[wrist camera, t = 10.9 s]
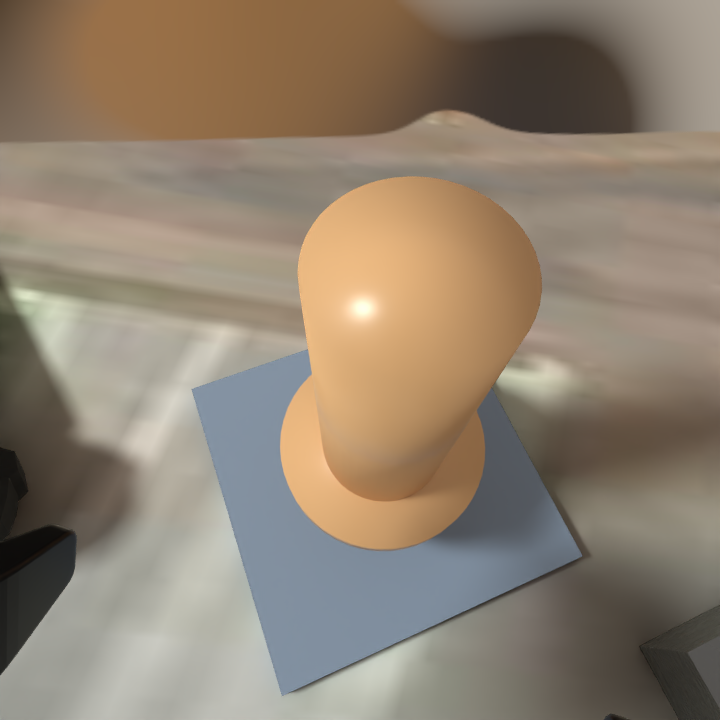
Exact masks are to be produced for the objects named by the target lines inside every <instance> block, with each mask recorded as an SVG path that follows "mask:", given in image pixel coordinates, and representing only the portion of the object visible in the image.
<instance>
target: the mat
mask: <svg viewBox="0 0 720 720" xmlns="http://www.w3.org/2000/svg"><path fill="white" fill-rule="evenodd" d="M311 375H312V371H311V365H310V358H309V351H308V349H307V350H304V351H301V352H299V353H296V354H293V355H290V356H287V357H284V358H281V359H278V360H275V361H272V362H269V363H266V364H264V365H261V366H258V367H255V368H252V369H249V370H246V371H243V372H240V373H237V374H234V375H231V376H229V377H226V378H223V379H220V380H217V381H214V382H211V383H208V384H205V385H202V386H199V387H196V388H194V389H192V392H193V395H194V399H195V402H196V406H197V409H198V412H199V416H200V419H201V423H202V426H203V429H204V433H205V436H206V440H207V443H208V446H209V450H210V453H211V457H212V460H213V463H214V467H215V470H216V473H217V477H218V480H219V484H220V487H221V490H222V494H223V497H224V501H225V504H226V507H227V511H228V514H229V518H230V521H231V524H232V528H233V531H234V535H235V538H236V541H237V545H238V548H239V552H240V555H241V558H242V562H243V565H244V568H245V572H246V575H247V579H248V582H249V585H250V589H251V592H252V596H253V599H254V602H255V606H256V609H257V613H258V616H259V619H260V623H261V626H262V630H263V633H264V636H265V640H266V643H267V646H268V650H269V653H270V657H271V660H272V663H273V667H274V670H275V674H276V677H277V680H278V684H279V687H280V691H281V694H282V696H283V695H285V694H287V693H289V692H292V691H294V690H296V689H298V688H300V687H302V686H305V685H307V684H309V683H311V682H313V681H315V680H317V679H320V678H322V677H324V676H326V675H328V674H330V673H333V672H335V671H337V670H339V669H341V668H343V667H345V666H348V665H350V664H352V663H354V662H356V661H358V660H360V659H363V658H365V657H367V656H369V655H371V654H373V653H376V652H378V651H380V650H382V649H384V648H386V647H388V646H391V645H393V644H395V643H397V642H399V641H401V640H404V639H406V638H408V637H410V636H412V635H414V634H416V633H419V632H421V631H423V630H425V629H427V628H429V627H431V626H434V625H436V624H438V623H440V622H442V621H444V620H447V619H449V618H451V617H453V616H455V615H457V614H459V613H462V612H464V611H466V610H468V609H470V608H472V607H475V606H477V605H479V604H481V603H483V602H485V601H487V600H490V599H492V598H494V597H496V596H498V595H500V594H503V593H505V592H507V591H509V590H511V589H513V588H515V587H518V586H520V585H522V584H524V583H526V582H528V581H530V580H533V579H535V578H537V577H539V576H541V575H543V574H546V573H548V572H550V571H552V570H554V569H556V568H558V567H561V566H563V565H565V564H567V563H569V562H571V561H574V560H576V559H578V558H580V557H582V554H581V552H580V550H579V549H578V547H577V545H576V543H575V541H574V539H573V537H572V536H571V534H570V532H569V530H568V528H567V526H566V525H565V523H564V521H563V519H562V517H561V515H560V513H559V512H558V510H557V508H556V506H555V504H554V502H553V500H552V499H551V497H550V495H549V493H548V491H547V489H546V487H545V486H544V484H543V482H542V480H541V478H540V476H539V474H538V473H537V471H536V469H535V467H534V465H533V463H532V461H531V460H530V458H529V456H528V454H527V452H526V450H525V448H524V447H523V445H522V443H521V441H520V439H519V437H518V435H517V434H516V432H515V430H514V428H513V426H512V424H511V422H510V421H509V419H508V417H507V415H506V413H505V411H504V409H503V408H502V406H501V404H500V402H499V400H498V398H497V396H496V395H495V393H494V391H493V389H492V388H491V389H490V391H489V392H488V394H487V395H486V397H485V398H484V400H483V401H482V403H481V404H480V406H479V408H478V409H477V413H478V416H479V418H480V421H481V424H482V429H483V433H484V441H485V462H484V468H483V473H482V477H481V480H480V483H479V486H478V488H477V490H476V492H475V495H474V497H473V499H472V500H471V502H470V503H469V505H468V506H467V508H466V509H465V510H464V512H463V513H462V514H461V515H460V516H459V517H458V518H457V519H456V520H455V521H454V522H453V523H452V524H451V525H449V526H448V527H447V528H446V529H445V530H443V531H442V532H441V533H439V534H438V535H436V536H435V537H433V538H431V539H430V540H428V541H426V542H423V543H421V544H419V545H417V546H413V547H410V548H406V549H402V550H395V551H371V550H364V549H360V548H356V547H353V546H349V545H347V544H345V543H342V542H340V541H338V540H336V539H334V538H332V537H331V536H329V535H328V534H326V533H324V532H323V531H322V530H321V529H320V528H318V527H317V526H316V525H315V524H314V523H313V522H312V521H311V520H310V519H309V518H308V517H307V516H306V515H305V514H304V512H303V511H302V509H301V508H300V506H299V505H298V504H297V502H296V500H295V498H294V496H293V494H292V492H291V490H290V488H289V486H288V483H287V480H286V478H285V475H284V472H283V467H282V462H281V453H280V438H281V430H282V425H283V420H284V417H285V414H286V411H287V409H288V406H289V405H290V403H291V401H292V399H293V397H294V395H295V394H296V392H297V391H298V389H299V388H300V386H301V385H302V384H303V383H304V382H305V381H306V380H307V379H308V377H309V376H311Z"/></svg>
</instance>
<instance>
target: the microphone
mask: <svg viewBox="0 0 720 720" xmlns="http://www.w3.org/2000/svg"><path fill="white" fill-rule="evenodd" d="M27 492H28V488H27V483H26V478H25V474H24V471H23V469H22V467H21V465H20V463H19V460H18V458H17V456H16V454H15V452H14V451H11V450H7V449H3V448H0V542H2V541H3V540H4V539H5V538H6V537H7V536H8V535H9V533H10V530H11V528H12V525H13V522H14V519H15V517H16V513H17V505H18V501H19V500H20V499H21V498H22V497H23V496H24V495H25V494H26V493H27Z"/></svg>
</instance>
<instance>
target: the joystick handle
mask: <svg viewBox="0 0 720 720" xmlns="http://www.w3.org/2000/svg"><path fill="white" fill-rule="evenodd" d="M298 282H299V291H300V297H301V304H302V311H303V318H304V324H305V331H306V338H307V345H308V351H309V358H310V365H311V371H312V375H311V376H309V377H308V379H307V380H306V381H305V382H304V383H303V384H302V385H301V386H300V388H299V389H298V391H297V392H296V394H295V395H294V397H293V399H292V401H291V403H290V405H289V406H288V409H287V411H286V414H285V417H284V420H283V425H282V430H281V438H280V453H281V462H282V467H283V472H284V475H285V478H286V480H287V483H288V486H289V488H290V490H291V492H292V494H293V496H294V498H295V500H296V502H297V504H298V505H299V506H300V508H301V509H302V511H303V512H304V514H305V515H306V516H307V517H308V518H309V519H310V520H311V521H312V522H313V523H314V524H315V525H316V526H317V527H318V528H320V529H321V530H322V531H323V532H324V533H326V534H328V535H329V536H331V537H332V538H334V539H336V540H338V541H340V542H342V543H345V544H347V545H349V546H353V547H356V548H360V549H364V550H371V551H395V550H402V549H406V548H410V547H413V546H417V545H419V544H421V543H423V542H426V541H428V540H430V539H431V538H433V537H435V536H436V535H438V534H439V533H441V532H442V531H443V530H445V529H446V528H447V527H448V526H449V525H451V524H452V523H453V522H454V521H455V520H456V519H457V518H458V517H459V516H460V515H461V514H462V513H463V512H464V510H465V509H466V508H467V506H468V505H469V503H470V502H471V500H472V499H473V497H474V495H475V492H476V490H477V488H478V486H479V483H480V480H481V477H482V473H483V468H484V462H485V441H484V433H483V429H482V424H481V421H480V418H479V416H478V413H477V409H478V408H479V406H480V404H481V403H482V401H483V400H484V398H485V397H486V395H487V394H488V392H489V391H490V389H491V388H492V386H493V385H494V383H495V382H496V380H497V379H498V377H499V376H500V374H501V373H502V371H503V370H504V368H505V367H506V365H507V364H508V362H509V361H510V359H511V357H512V356H513V354H514V353H515V351H516V350H517V348H518V347H519V345H520V344H521V342H522V341H523V339H524V338H525V336H526V335H527V333H528V332H529V330H530V328H531V326H532V324H533V322H534V320H535V318H536V315H537V312H538V309H539V306H540V300H541V293H542V277H541V271H540V265H539V262H538V259H537V256H536V253H535V250H534V248H533V246H532V244H531V242H530V240H529V238H528V237H527V235H526V234H525V232H524V231H523V229H522V228H521V227H520V225H519V224H518V223H517V222H516V221H515V220H514V218H513V217H512V216H511V215H509V214H508V213H507V212H506V211H505V210H504V209H503V208H502V207H500V206H499V205H498V204H496V203H495V202H494V201H492V200H491V199H489V198H487V197H486V196H484V195H482V194H480V193H479V192H477V191H474V190H472V189H470V188H468V187H465V186H463V185H459V184H456V183H453V182H450V181H446V180H441V179H436V178H428V177H396V178H389V179H384V180H379V181H376V182H372V183H369V184H366V185H363V186H361V187H359V188H356V189H354V190H352V191H350V192H349V193H347V194H345V195H343V196H342V197H340V198H339V199H337V200H336V201H335V202H333V203H332V204H331V205H330V206H329V207H328V208H327V209H326V210H325V211H323V212H322V213H321V215H320V216H319V217H318V218H317V220H316V221H315V222H314V223H313V225H312V227H311V228H310V230H309V232H308V234H307V235H306V238H305V240H304V243H303V245H302V248H301V252H300V257H299V263H298Z"/></svg>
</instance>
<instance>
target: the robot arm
mask: <svg viewBox="0 0 720 720" xmlns="http://www.w3.org/2000/svg"><path fill="white" fill-rule="evenodd" d="M76 543H77V535H76V533H75V531H73V530H71V529H68V528H65V527H62V526H59V525H56V524H50V525H47V526H44V527H41V528H38V529H35V530H32V531H30V532H27V533H24V534H21V535H18V536H16V537H13V538H10V539H7V540H4V541H2V542H0V675H1V674H2V673H3V671H4V670H5V669H6V668H7V667H8V665H9V664H10V663H11V661H12V660H13V659H14V657H15V656H16V655H17V653H18V652H19V651H20V649H21V648H22V647H23V645H24V644H25V642H26V641H27V640H28V638H29V637H30V636H31V634H32V633H33V631H34V630H35V629H36V627H37V626H38V625H39V623H40V622H41V620H42V619H43V618H44V616H45V615H46V614H47V612H48V611H49V609H50V608H51V607H52V605H53V604H54V603H55V601H56V600H57V598H58V597H59V596H60V594H61V593H62V591H63V590H64V589H65V587H66V586H67V585H68V583H69V582H70V580H71V578H72V576H73V573H74V569H75V558H76ZM604 720H629V719H626V718H623V717H621V716H618V715H615V714H609V715H607V716H606V717H605V719H604Z"/></svg>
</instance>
